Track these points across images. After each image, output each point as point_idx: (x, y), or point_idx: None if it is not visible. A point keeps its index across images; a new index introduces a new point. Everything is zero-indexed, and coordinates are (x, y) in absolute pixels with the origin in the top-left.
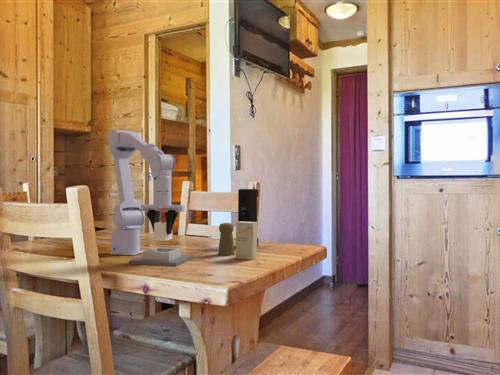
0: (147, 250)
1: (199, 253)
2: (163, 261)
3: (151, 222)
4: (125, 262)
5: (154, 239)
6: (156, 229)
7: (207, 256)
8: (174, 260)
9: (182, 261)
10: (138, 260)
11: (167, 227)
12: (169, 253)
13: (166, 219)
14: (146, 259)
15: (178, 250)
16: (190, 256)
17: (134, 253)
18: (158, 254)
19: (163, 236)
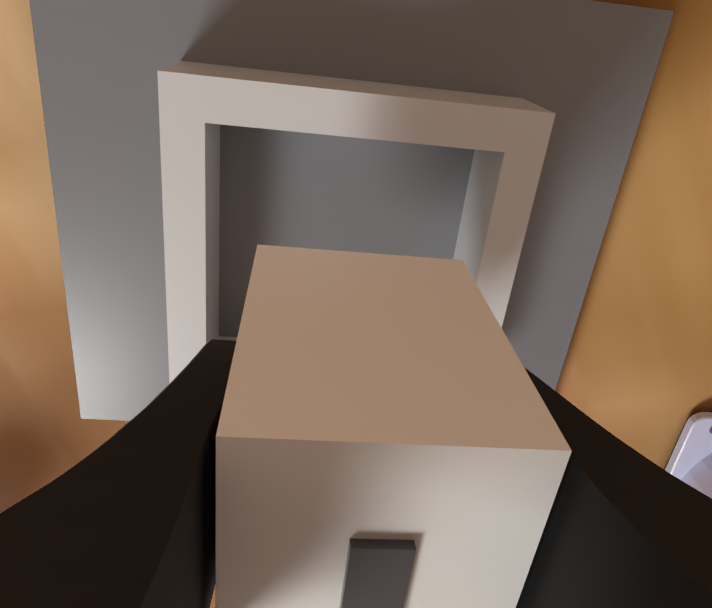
0: (521, 209)
1: None
2: (230, 3)
3: (656, 479)
4: (706, 82)
5: (458, 266)
6: (460, 353)
7: (18, 491)
8: (128, 93)
9: (50, 126)
10: (558, 21)
11: (195, 395)
12: (160, 78)
13: (152, 524)
14: (479, 93)
15: (171, 335)
16: (78, 350)
17: (694, 442)
18: (325, 85)
19: (293, 279)
